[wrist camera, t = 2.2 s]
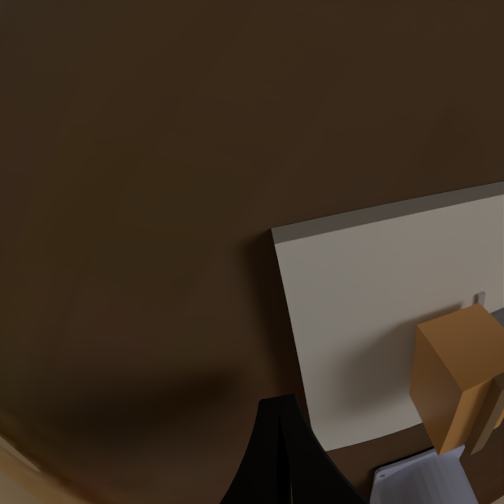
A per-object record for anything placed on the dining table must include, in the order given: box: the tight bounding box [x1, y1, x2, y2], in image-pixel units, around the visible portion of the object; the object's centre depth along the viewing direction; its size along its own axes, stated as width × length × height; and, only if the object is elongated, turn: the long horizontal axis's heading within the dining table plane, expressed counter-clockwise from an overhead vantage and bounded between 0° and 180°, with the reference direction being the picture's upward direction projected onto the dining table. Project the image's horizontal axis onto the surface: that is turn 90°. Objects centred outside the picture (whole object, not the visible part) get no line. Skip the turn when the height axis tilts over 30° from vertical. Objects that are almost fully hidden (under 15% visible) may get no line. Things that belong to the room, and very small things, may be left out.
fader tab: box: [409, 303, 504, 456], centre depth 9 cm, size 4×3×4 cm
